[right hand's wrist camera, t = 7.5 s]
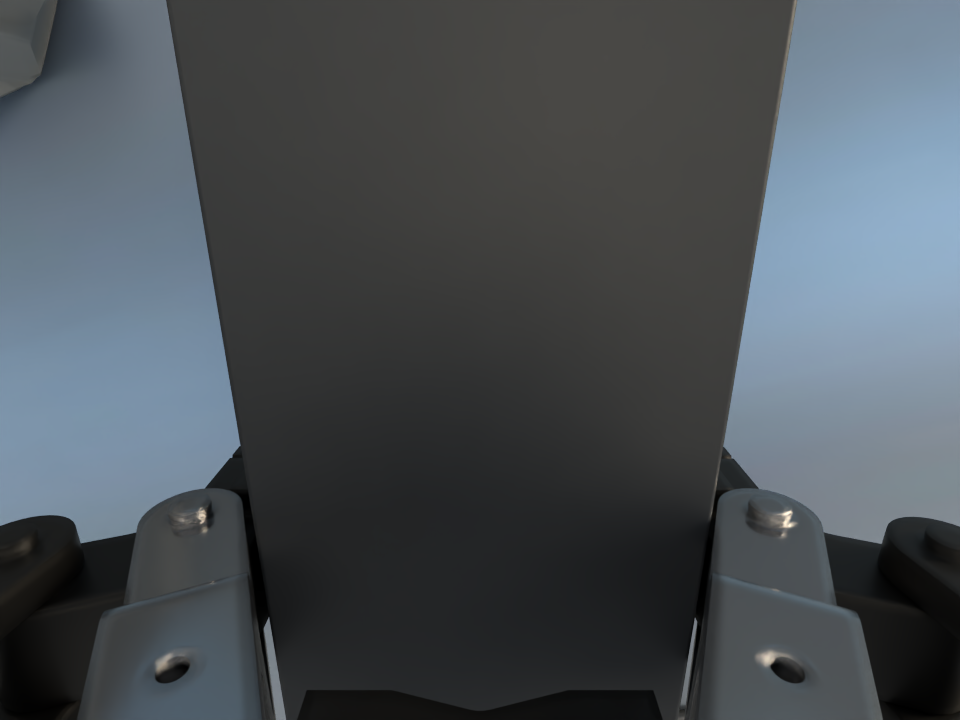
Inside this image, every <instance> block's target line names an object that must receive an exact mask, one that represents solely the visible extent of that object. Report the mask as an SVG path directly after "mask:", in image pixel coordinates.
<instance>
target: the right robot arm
mask: <svg viewBox="0 0 960 720" xmlns="http://www.w3.org/2000/svg"><path fill="white" fill-rule="evenodd" d="M268 617H269V612H268V606H267V600H266V594H265V588H264V582H263V576H262V570H261V564H260V558H259V552H258V546H257V541H256V535H255V529H254V523H253V517H252V511H251V505H250V499H249V493H248V487H247V481H246V475H245V469H244V463H243V457H242V451H241V446H240V447H239V448H238V449H237V450H236V452H235V453H234V454H233V457H232V458H230V459H229V460H228V461H227V462H226V464H225V465H224V466H223V467H222V468H221V470H220V471H219V472H218V473H217V474H216V476H215V477H214V478H213V479H212V481H211V482H210V483H209V484H208V485H207V487H206V488H205V489H198V490H192V491H189V492H185V493H181V494H178V495H175V496H173V497H171V498H168V499H166V500H164V501H162V502H160V503H159V504H157V505H156V506H154V507H153V508H151V509H150V510H149V511H148V512H147V513H146V514H145V515H144V516H143V517H142V518H141V520H140V521H139V524H138V526H137V532H136V533H132V534H128V535H123V536H118V537H112V538H107V539H102V540H97V541H91V542H86V543H80V539H79V536H78V533H77V529H76V526H75V524H74V522H73V521H72V520H70V519H69V518H66V517H62V516H54V515H47V516H37V517H30V518H26V519H21V520H17V521H14V522H10V523H8V524H5V525H2V526H0V720H276V717H275V709H274V701H273V693H272V685H271V677H270V670H269V662H268V654H267V646H266V639H265V633H264V626H265V624H266V622H267V620H268ZM695 618H696V620H697V627H696V633H695V639H694V646H693V654H692V662H691V670H690V677H689V685H688V693H687V701H686V709H684V710H679V715H678V720H960V527H959V526H956V525H953V524H950V523H946V522H943V521H939V520H934V519H929V518H922V517H903V518H898V519H895V520H893V521H891V522H890V523H889V524H888V526H887V528H886V532H885V535H884V539H883V542H882V544H878V543H873V542H868V541H862V540H857V539H852V538H847V537H841V536H836V535H832V534H828V533H824V532H823V527H822V524H821V521H820V520H819V518H818V517H817V516H816V515H815V514H814V513H813V512H812V511H811V510H810V509H809V508H807V507H806V506H804V505H803V504H801V503H800V502H798V501H796V500H794V499H792V498H789V497H787V496H785V495H782V494H779V493H775V492H771V491H768V490H762V489H759V488H758V487H757V486H756V485H755V484H754V482H753V481H752V480H751V479H750V478H749V476H748V475H747V474H746V473H745V472H744V470H743V469H742V468H741V467H740V466H739V464H738V463H737V462H736V461H735V460H734V459H731V455H730V454H729V453H728V451H727V450H726V449H725V448H724V447H723V450H722V456H721V462H720V468H719V474H718V480H717V486H716V492H715V498H714V504H713V510H712V516H711V522H710V528H709V534H708V540H707V546H706V552H705V559H704V565H703V571H702V577H701V583H700V589H699V595H698V601H697V607H696V613H695ZM297 720H663V718H662V715H661V712H660V709H659V706H658V703H657V700H656V697H655V694H654V691H653V690H566V691H562V692H558V693H554V694H550V695H546V696H542V697H538V698H534V699H530V700H526V701H522V702H518V703H514V704H510V705H506V706H502V707H498V708H494V709H490V710H485V711H475V710H470V709H466V708H462V707H458V706H454V705H450V704H446V703H442V702H438V701H434V700H430V699H426V698H422V697H418V696H414V695H410V694H406V693H402V692H398V691H394V690H307V691H306V694H305V697H304V700H303V703H302V706H301V709H300V712H299V715H298V718H297Z"/></svg>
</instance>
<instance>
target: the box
mask: <svg viewBox="0 0 960 720" xmlns="http://www.w3.org/2000/svg"><path fill="white" fill-rule="evenodd" d="M166 1H167V7H168V13H169V19H170V25H171V31H172V37H173V43H174V49H175V55H176V61H177V67H178V73H179V79H180V85H181V91H182V97H183V103H184V109H185V115H186V121H187V127H188V133H189V139H190V145H191V151H192V157H193V163H194V169H195V175H196V181H197V187H198V193H199V199H200V205H201V211H202V217H203V223H204V229H205V235H206V241H207V247H208V253H209V259H210V265H211V271H212V277H213V283H214V289H215V295H216V301H217V307H218V313H219V319H220V325H221V331H222V337H223V343H224V349H225V355H226V361H227V367H228V373H229V379H230V385H231V391H232V397H233V403H234V409H235V415H236V421H237V427H238V433H239V439H240V445H241V451H242V457H243V463H244V469H245V475H246V481H247V487H248V493H249V499H250V505H251V511H252V517H253V523H254V529H255V535H256V541H257V546H258V552H259V558H260V564H261V570H262V576H263V582H264V588H265V594H266V600H267V606H268V612H269V618H270V624H271V630H272V636H273V642H274V648H275V654H276V660H277V666H278V672H279V678H280V684H281V690H282V696H283V702H284V708H285V714H286V720H297V718H298V715H299V712H300V709H301V706H302V703H303V700H304V697H305V694H306V691H307V690H394V691H398V692H402V693H406V694H410V695H414V696H418V697H422V698H426V699H430V700H434V701H438V702H442V703H446V704H450V705H454V706H458V707H462V708H466V709H470V710H475V711H485V710H490V709H494V708H498V707H502V706H506V705H510V704H514V703H518V702H522V701H526V700H530V699H534V698H538V697H542V696H546V695H550V694H554V693H558V692H562V691H566V690H653V691H654V694H655V697H656V700H657V703H658V706H659V709H660V712H661V715H662V718H663V720H678V715H679V709H680V703H681V697H682V691H683V685H684V679H685V673H686V667H687V661H688V655H689V649H690V643H691V637H692V631H693V625H694V619H695V613H696V607H697V601H698V595H699V589H700V583H701V577H702V571H703V565H704V559H705V552H706V546H707V540H708V534H709V528H710V522H711V516H712V510H713V504H714V498H715V492H716V486H717V480H718V474H719V468H720V462H721V456H722V450H723V444H724V438H725V432H726V426H727V420H728V414H729V408H730V402H731V396H732V390H733V384H734V378H735V372H736V366H737V360H738V354H739V348H740V342H741V336H742V330H743V324H744V318H745V312H746V306H747V300H748V294H749V288H750V282H751V276H752V270H753V263H754V257H755V251H756V245H757V239H758V233H759V227H760V221H761V215H762V209H763V203H764V197H765V191H766V185H767V179H768V173H769V167H770V161H771V155H772V149H773V143H774V137H775V131H776V125H777V119H778V113H779V107H780V101H781V95H782V89H783V83H784V77H785V71H786V65H787V59H788V53H789V47H790V41H791V35H792V29H793V23H794V17H795V11H796V5H797V0H166Z"/></svg>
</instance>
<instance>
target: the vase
mask: <svg viewBox="0 0 960 720" xmlns="http://www.w3.org/2000/svg"><path fill="white" fill-rule="evenodd" d="M57 2H58V0H0V98H1V97H3V96H5V95H8V94H10V93H12V92H14V91H17V90H19V89H20V88H21V87H22V86H26V85H29V84H31V83H32V82H33V81H34V80H35V79H36V78H37V77H38V76H40V75H41V73H42V69H43V65H44V61H45V57H46V52H47V48H48V44H49V39H50V35H51V30H52V26H53V21H54V16H55V12H56V7H57Z"/></svg>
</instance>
